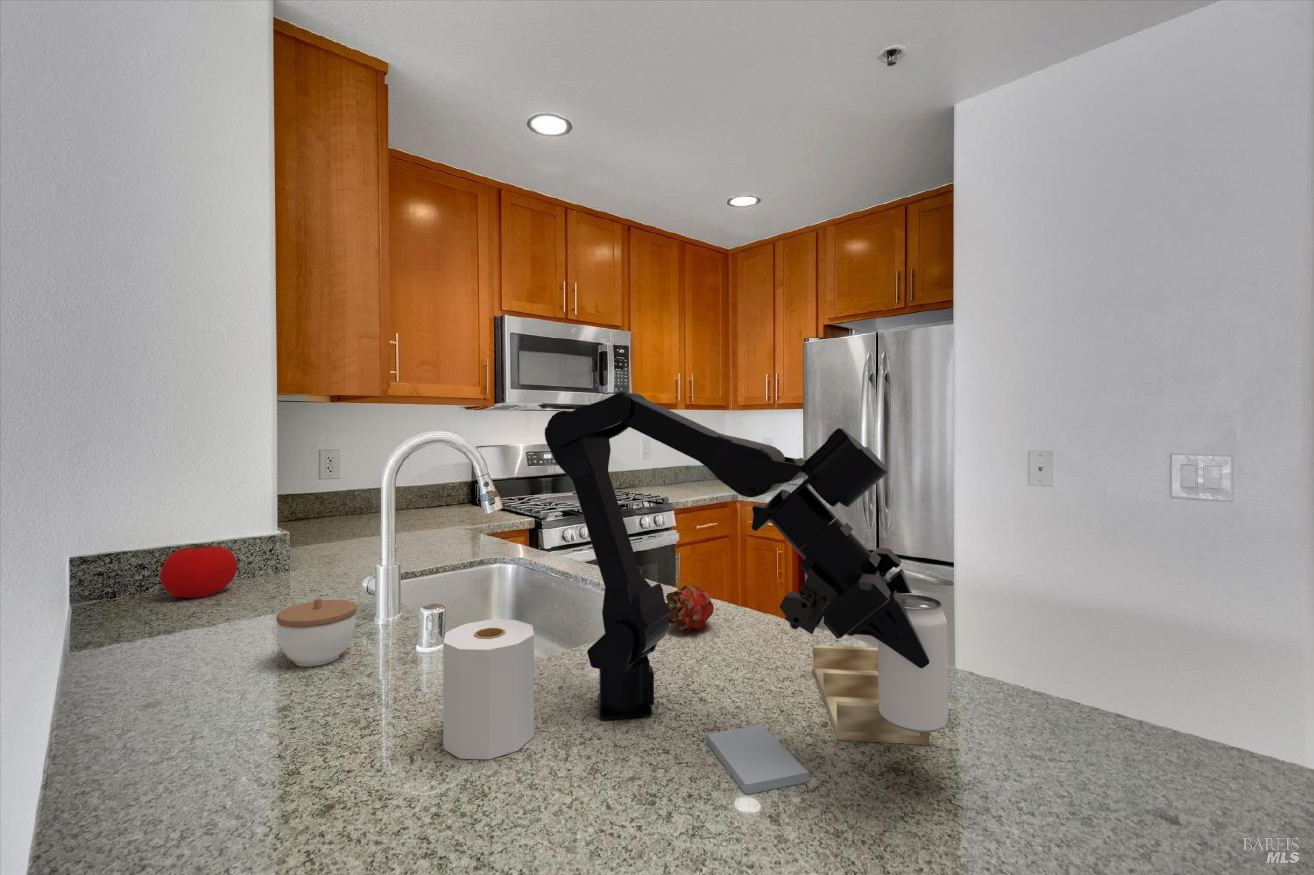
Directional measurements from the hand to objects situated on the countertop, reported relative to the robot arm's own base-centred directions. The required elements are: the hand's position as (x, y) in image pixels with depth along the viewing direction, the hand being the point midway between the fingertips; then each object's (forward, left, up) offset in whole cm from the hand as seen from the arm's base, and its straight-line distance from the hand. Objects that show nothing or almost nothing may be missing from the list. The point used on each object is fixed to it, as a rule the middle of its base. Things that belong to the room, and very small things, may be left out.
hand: (926, 653), depth 59 cm
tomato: (-116, +83, -13) cm, 143 cm away
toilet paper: (-45, +15, -13) cm, 49 cm away
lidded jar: (-75, +42, -13) cm, 87 cm away
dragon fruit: (-15, +49, -13) cm, 53 cm away
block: (-16, +6, -13) cm, 21 cm away
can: (-1, +1, -7) cm, 7 cm away
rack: (+2, +17, -13) cm, 21 cm away
